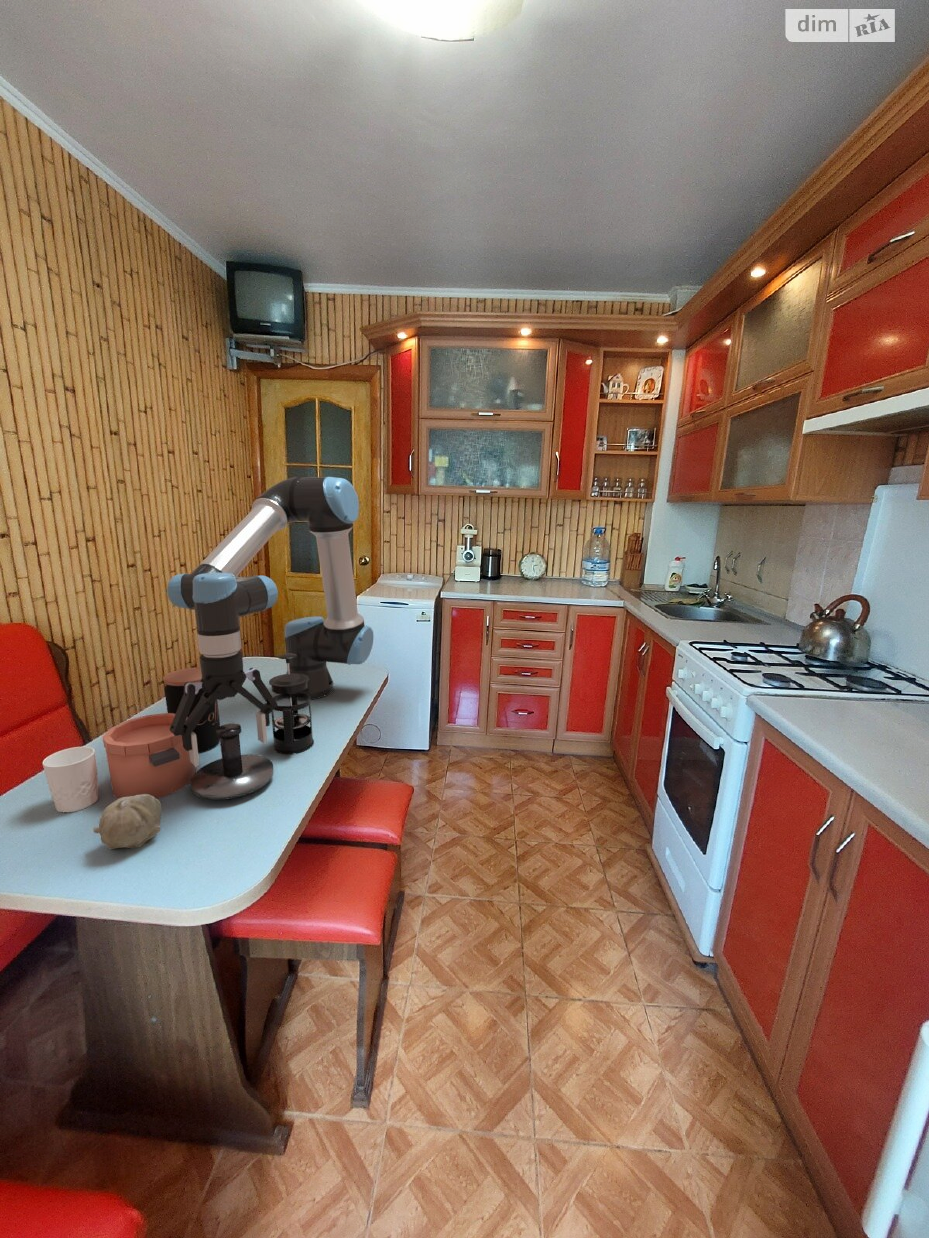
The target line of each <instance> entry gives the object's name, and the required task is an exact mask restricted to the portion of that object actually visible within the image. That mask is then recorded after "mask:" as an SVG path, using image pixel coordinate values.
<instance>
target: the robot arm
mask: <svg viewBox="0 0 929 1238" xmlns="http://www.w3.org/2000/svg"><path fill="white" fill-rule="evenodd" d="M358 497H359V496H358V494H357V492H356V490H355V487H354V486H353V485H352V483H351V482H350V481H349V480H347V479H345V478H342V477H333V476H317V477H316V476H315V477H314V476H313V477H309V476H307V477H306V476H305V477H301V476H297V477H290V478H286V479H283V480H281V481H280V482H277V483H276V484H274V485H272V486H271V487H269V488H268V489H267V490H265V491H263V493H261V495H259V496H258V497H257V498H256V499H255V500H254V501H253V503H252V504H251V505H252V506H251V510H250V511H249V512H248V514H247V515H246V516H245V517H244V518H243V519H242V520H240V522H239V523H238V524H237V525H236V526H235V527H234V528H233V529H232V530H231V531H230V532H229V533H228V534H227V535H226V536H225V537H224V539H222V540H221V542H219V544H218V545H217V546H216V547H215V548H214V549H212V551H211V552H209V554H208V555H207V556H206V557H205V558H204V560H202V561H201V563H199V565H197V567H196V568H194V570H193V571H192V572H190V573H186V572H185V573H179V574H176V575H173V576H172V577H171V578H170V579H169V582H168V584H167V587H166V588H167V589H166V593H167V598H168V599H169V601H170V602H171V604H172V605H173V606H175V607H178V608H179V609H187V610H193V611H194V614H195V622H196V632H197V633H196V635H197V641H198V642H197V643H198V651H199V654H201V655H200V656H199V664H200V667H201V674H202V679H201V681H200V682H197V683H190V682H186V683H185V684H184V695H183V697H182V699H181V702H180V704H179V707H178V709H177V712H176V714H175V717H174V719H173V722H172V724H171V726H170V731H171V732H172V733H173V734H174V735H175V736H178V735H182V742H183V747H184V749H185V750H186V751H189V754H190V762H191V763H192V764H193V765H194V766H195V768H196V767H198V766H200V758H199V753H198V748H197V738H196V734H195V733H194V732H193V730H194V729H195V727H196V726H197V724H198V723H199V721H200V720H201V718H202V717H203V715H204V714H205V713H206V711H207V710H208V708H209V707H210V705H212V704H213V703H214V701H215V700H218V701H223V700H224V699H227V698H234V697H236V695H238V694H239V695H240V696H242V697H243V698H245V699H246V700H247V701H248V702H250V703H251V704H253V706H255V707H256V708H257V709H259V710H257V711H255V716H256V717H255V718H256V731H257V740H258V742H261V743H262V744H263V745H264V744H268V735H267V734H268V733H267V727H269V726H270V722H271V721H270V714H271V709H272V708H276V707H277V705H278V706H279V704H278V701H275V699H274V698H273V697H274V696H273V695H272V694H271V693H272V692H270V690H269V689H268V688H267V686H266V685H265V683H264V682H263V680H262V677H261V672H260V671H259V669H257V668H255V667H250V668H249V669H248V670H247V671H245V670H244V661H243V652H241V650H242V646H243V645H242V640H241V639H242V637H241V628H240V627H241V626H240V618H241V617H245V616H248V615H253V614H255V613H258V612H264V611H266V610H267V609H269V608H272V607H273V606H274V605H275V604H276V602H277V600H278V598H279V592H278V587H277V584H276V583H275V582H274V581H273V579H271V578H270V577H268V576H266V575H252V576H247V577H246V576H245V577H242V576H239V575H240V574H241V572H242V571H243V570H244V569H245V568H246V566H248V564H249V563H250V562H251V561H252V559H253V558H254V557H255V556H257V554H258V552H259V551H261V549H262V548H263V547H264V546H265V545H266V544H267V543H268V541H269V540H270V539H271V537H273V535H274V534H275V533H276V532H277V531H278V532H279V531H282V530H284V528H286V527H287V525H288V524H291V523H296V522H301V523H307V525H308V532H310V533H311V534H312V535H314V537H315V538H316V539H315V540H316V547H317V553H318V560H319V566H320V573H321V581H322V586H323V587H322V588H323V594H324V600H325V607H326V613H327V614H326V615H327V617H326V618H324V617H323V616H308V617H307V616H306V617H301V618H297V619H293V620H291V621H288V622H287V623H286V624H285V625H284V636H283V637H284V643H285V644H284V646H285V654H286V653H293V654H296V655H297V657H295V658H292V659H290V663H289V672H290V674H292V673H298V674H304V675H307V676H308V677H309V681H308V682H307V685H308V687H307V689H305V690H304V691H301V692H302V693H306V694H308V695H310V700H314V699H313V698H316V699H320V698H323V697H322V696H324V695H326V696H328V695H330V694H331V693H332V692H334V689H333V688H334V680H333V678H332V676H331V673H330V671H329V669H328V666H327V663H333V664H343V665H347V666H348V665H349V666H350V665H362V664H363V663H365V662H366V661H367V660H368V658H369V656H370V654H371V652H372V649H373V645H374V630H373V628H372V627H370V626H369V625H365V618H364V616H363V615H362V614H361V613H360V614H359V611H358V604H357V598H356V597H357V596H356V588H355V587H356V586H355V579H354V572H353V571H354V570H353V564H352V562H353V561H352V556H351V546H350V539H349V533H350V532H351V531H352V529H353V528H354V524H353V523H355V522H356V521H357V519H358V518H359V511H360V501H359V498H358ZM285 674H288V667H287V666H286V673H285ZM247 679H248V680H249V681H250V682H252V684H253V686H254V687H255V688H256V690H257V691H258V692H259V694H260V695H261V697H262V698H263V700H264V701H265V703H264V702H262V701H261V700H260V699H258V698H257V697H256V696H254V695H253V693H251V692H249V690H247V689H246V688H245V687H243V685H244V683H245V681H246V680H247ZM201 688H202V689H203V690H204V691H205V692H204V693H203V694H202V696H201V698H200V701H199V702H198V704H197V705H196V707H195V708H194V710H193V711H192V712H191V714H190V715H189V717H188V718H187V716H188V714H189V711H190V709H191V706H192V704H193V701H194V698H195V694H197V693H198V691H199V689H201ZM331 691H332V692H331ZM330 692H331V693H330ZM329 693H330V694H329ZM319 697H320V698H319ZM324 697H325V696H324ZM297 701H307V700H306V698H301V697H297ZM186 719H187V720H186Z"/></svg>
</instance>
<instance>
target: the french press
mask: <svg viewBox="0 0 929 1238" xmlns="http://www.w3.org/2000/svg"><path fill="white" fill-rule="evenodd" d="M295 657H297V655H296V654H293V653H286V652H285V653H282V654H280V655H278V657H277V658H278V659H280V660H285V664H286V668H287V667H288V674H286V673H285V674H279V675H276V676H274V677H271V678H270V679H269V681H268V684H269V685H270V686H271V693H274V694H277V695H275V696H273V698H274V699H275V701H276V702H278V701H281V700H284V699H289V698H290V699H289V704H290V705H279V704H278V705H277V707H276V708H272V709H271V713H270V714H271V725H272V736H273V745H272V746H273V747H272V749H273V751H275V752H276V753H277V754H280V753H282V754H281V755H294V754H293V753H296V754H300V753H303V752H305V750H306V751H308V750H309V749H311V748H312V747H313V746H314V745H315V740H314V737H313V723H312V720H313V719H312V705H311V699H310V695H308V694H306V693H302V692H301V691H304V690H305V689H307V687H308V685H307V682H308V681H309V677H308V676H307V675H304V674H298V673H292V674H290V672H289V663H290V659H292V658H295ZM297 697H301V698H306V699H308V700H305V701H304V702H302V703H298V701H299V700H297ZM307 707H308V708H309V709H308V711H309V712H308V713H309V715H308V714H304V713H299V711H301V710H302V709H305V708H307ZM275 711H276V712H281V713H282V715H281V716H279V717H277V718H275V713H274V712H275ZM276 729H277V730H276ZM295 738H298V739H295ZM310 747H311V748H310ZM307 749H308V750H307Z"/></svg>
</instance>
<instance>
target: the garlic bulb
mask: <svg viewBox="0 0 929 1238" xmlns="http://www.w3.org/2000/svg"><path fill="white" fill-rule="evenodd" d="M162 816H163V815H162V804H161V802H160V800H159V799H158V798H157V799H156V798H155V797H153V796H151V795H149V794H142V795H135V796H129V797H122V798H120V799H116V800H114V801H112V802H111V803H110V804H109V805H108V806H107V807H105V809H104V810H103V812H102V814H101V817H100V819H99V822H98V827H94V828H93V833H95V834H99V835H100V840H101V844H103V845H105V846H107V848H108V849H110V850H114V849H118V848H128V849H133V848H140V847H141V846H144V844H146V842H148V841H149V840H151V839H152V838H154V837H155V836H156V835H158V834H159V833H160V832H161V826H160V824H161V821H162Z"/></svg>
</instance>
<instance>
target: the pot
mask: <svg viewBox="0 0 929 1238" xmlns="http://www.w3.org/2000/svg"><path fill="white" fill-rule="evenodd" d="M174 717H175V714H174V713H168V712H165V713H155V714H154V713H153V714H145V715H142V716H139V717H135V718H134V717H133V718H132V719H131V718H130V719H127V720H125V721H123V722H121V723H118V724H117V725H114V726H112V727H110V728H109V729H108V730H107V731H106V732H105V733H104V735H103V736H102V737H101V738H102V744H103V747H104V749H105V754H106V759H107V766H108V767H107V768H108V772H109V778H110V783H111V791H112V794H113V796H114V797H115V798H116V800H118V799H120V798H122V797H129V796H135V795H142V794H149V795H151V796H153V797H155V798H156V799H157V800H158V799H159V798H163V797H167V796H169V795H171V794H175V793H176V792H178V791H180V790H181V789H184V788H185V787H186V786H188V785H189V784H191V778H192V776H193V775H194V774H195V773H196V772H197V768H196V767H195V766H194V765H193V764H192V763H191V762H190V754H189V751H186V750H185V749H184V747H183V742H182V735H178V736H175V735H174V734H173V733H172V732H171V731H170V726H171V724H172V722H173V719H174ZM187 718H188V717H187ZM186 720H187V719H186Z"/></svg>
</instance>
